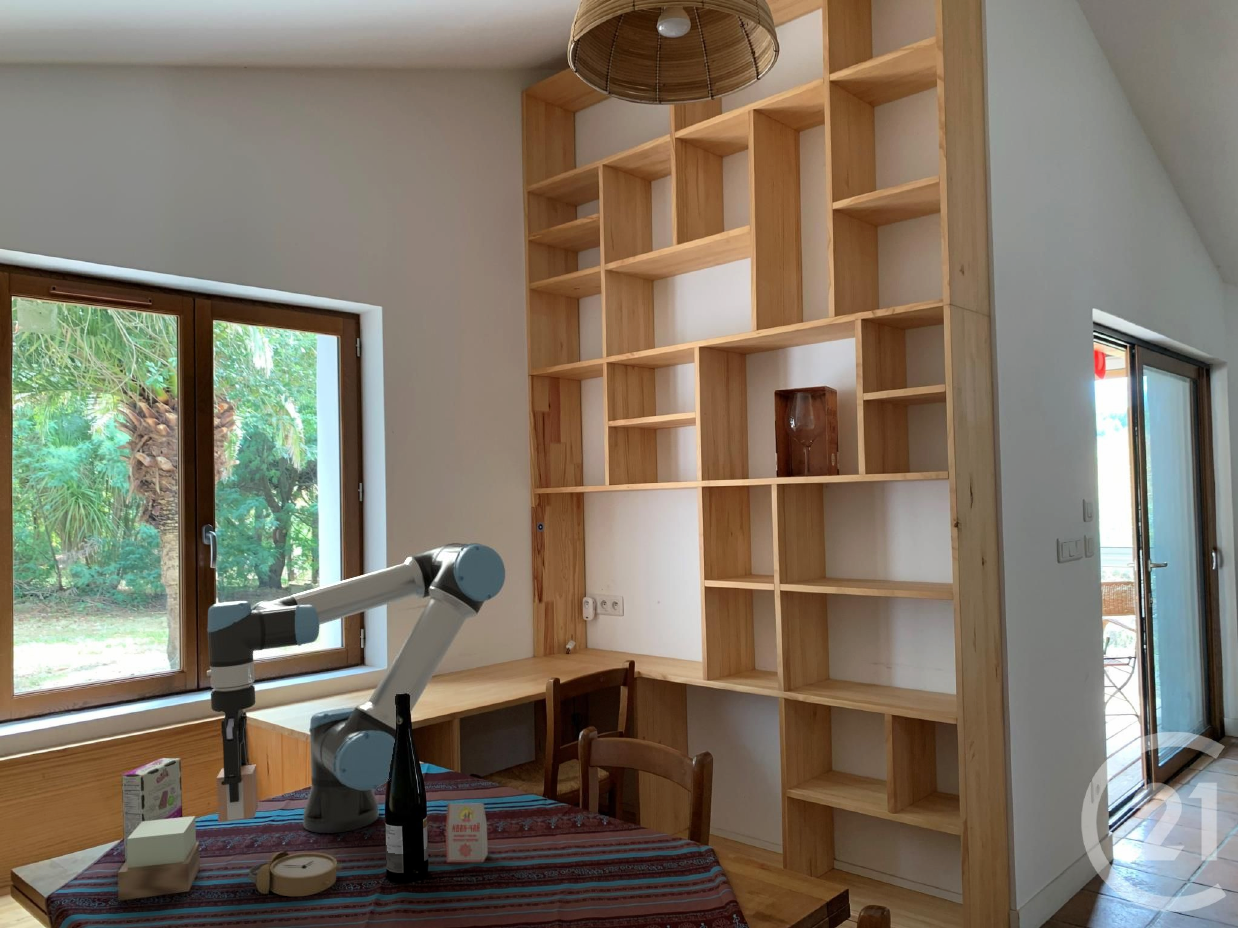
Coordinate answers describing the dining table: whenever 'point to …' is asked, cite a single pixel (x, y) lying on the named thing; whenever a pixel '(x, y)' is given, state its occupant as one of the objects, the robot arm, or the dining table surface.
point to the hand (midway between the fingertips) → (238, 812)
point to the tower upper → (161, 842)
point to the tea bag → (466, 832)
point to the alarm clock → (295, 874)
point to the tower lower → (158, 877)
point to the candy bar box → (151, 794)
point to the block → (248, 793)
